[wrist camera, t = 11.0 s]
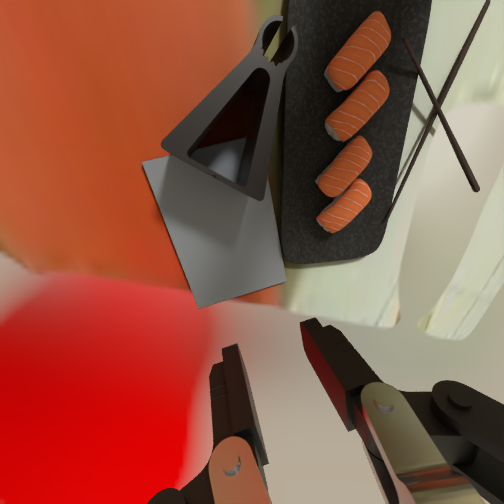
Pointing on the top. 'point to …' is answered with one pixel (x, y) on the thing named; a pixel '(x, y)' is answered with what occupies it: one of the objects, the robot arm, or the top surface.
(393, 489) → the robot arm
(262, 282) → the mat
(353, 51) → the sushi plate
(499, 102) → the top surface
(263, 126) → the phone stand
